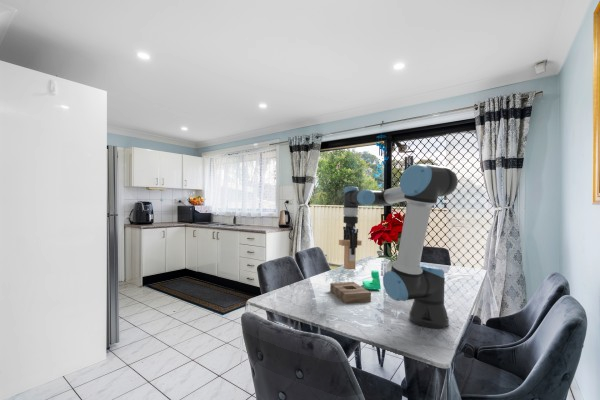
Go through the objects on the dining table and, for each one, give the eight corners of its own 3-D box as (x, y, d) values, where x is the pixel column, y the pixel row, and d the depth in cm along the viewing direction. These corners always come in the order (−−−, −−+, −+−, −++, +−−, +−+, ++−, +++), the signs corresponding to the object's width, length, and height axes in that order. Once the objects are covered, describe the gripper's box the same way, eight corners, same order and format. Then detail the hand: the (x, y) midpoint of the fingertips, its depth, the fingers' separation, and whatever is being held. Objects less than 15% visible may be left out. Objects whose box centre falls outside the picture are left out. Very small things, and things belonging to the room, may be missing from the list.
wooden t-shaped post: (360, 269, 151) (361, 240, 151) (341, 269, 148) (342, 241, 148) (357, 267, 155) (357, 239, 155) (338, 267, 152) (338, 239, 152)
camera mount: (362, 285, 173) (362, 268, 173) (374, 285, 173) (375, 268, 173) (367, 291, 161) (367, 272, 161) (380, 291, 161) (380, 273, 161)
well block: (370, 301, 143) (370, 292, 143) (345, 303, 139) (345, 294, 139) (353, 289, 162) (353, 281, 162) (330, 291, 159) (330, 283, 159)
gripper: (365, 216, 144) (364, 263, 144) (350, 215, 161) (349, 256, 161) (351, 216, 142) (350, 263, 142) (337, 214, 159) (336, 256, 159)
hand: (349, 259), depth 151 cm, fingers closed on wooden t-shaped post, 4 cm apart
